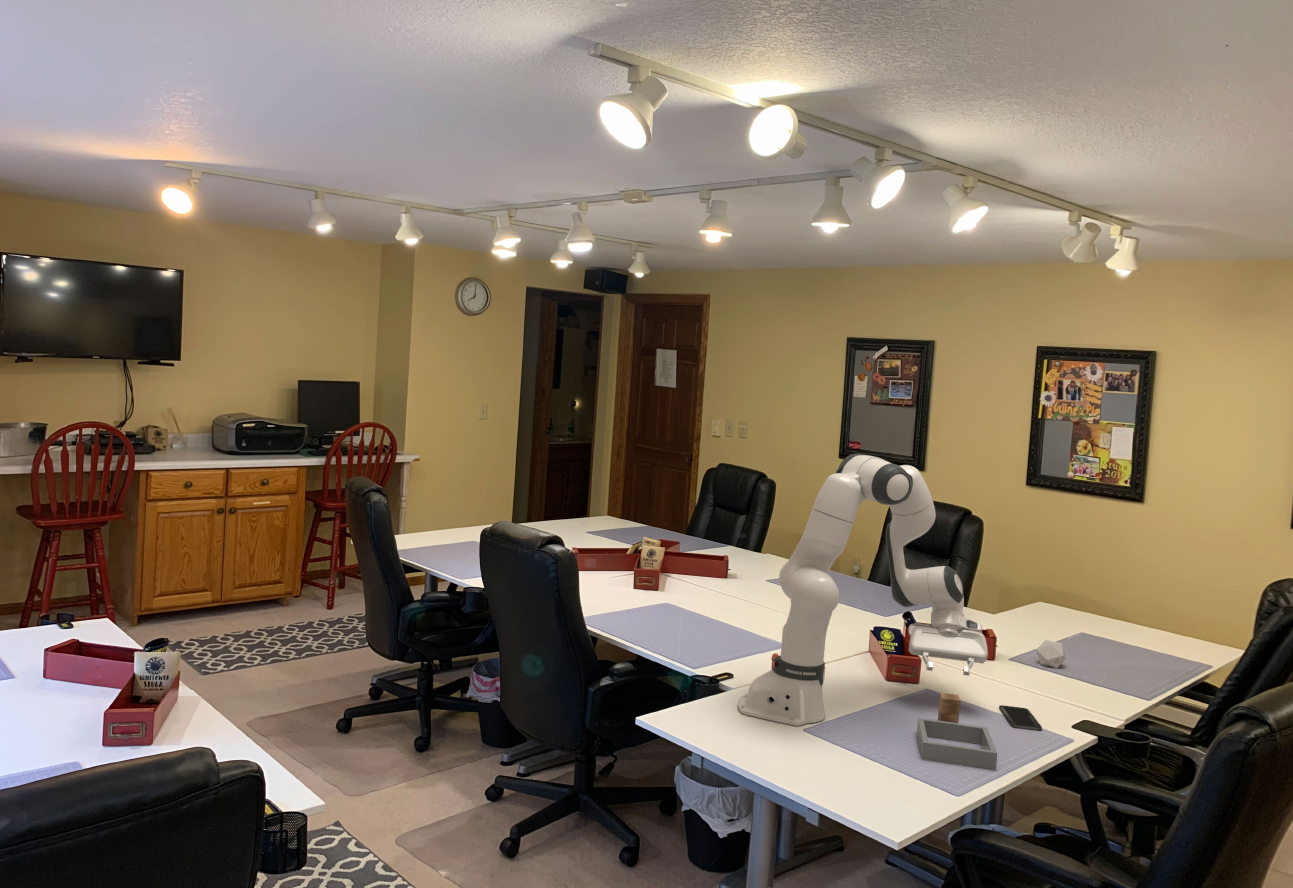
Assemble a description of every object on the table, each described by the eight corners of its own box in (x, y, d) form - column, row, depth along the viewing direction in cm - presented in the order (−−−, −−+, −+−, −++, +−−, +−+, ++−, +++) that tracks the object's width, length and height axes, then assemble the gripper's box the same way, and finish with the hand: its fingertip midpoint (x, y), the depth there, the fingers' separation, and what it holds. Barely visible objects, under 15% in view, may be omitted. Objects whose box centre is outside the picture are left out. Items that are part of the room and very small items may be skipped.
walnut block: (939, 728, 234) (942, 698, 233) (937, 722, 238) (940, 692, 237) (957, 731, 233) (960, 700, 232) (955, 724, 237) (958, 694, 236)
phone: (1011, 724, 238) (998, 704, 253) (1011, 728, 238) (997, 708, 253) (1043, 728, 237) (1027, 708, 252) (1043, 732, 237) (1027, 712, 252)
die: (1048, 672, 291) (1070, 650, 289) (1027, 652, 296) (1048, 631, 295) (1053, 676, 297) (1075, 655, 296) (1033, 656, 302) (1054, 636, 301)
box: (921, 758, 213) (923, 742, 213) (916, 732, 229) (918, 717, 229) (995, 770, 210) (997, 753, 210) (985, 742, 226) (986, 727, 226)
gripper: (909, 615, 252) (908, 660, 243) (988, 625, 247) (989, 671, 238) (907, 627, 256) (906, 672, 247) (984, 636, 252) (985, 682, 243)
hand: (948, 671), depth 243 cm, fingers open, 8 cm apart
